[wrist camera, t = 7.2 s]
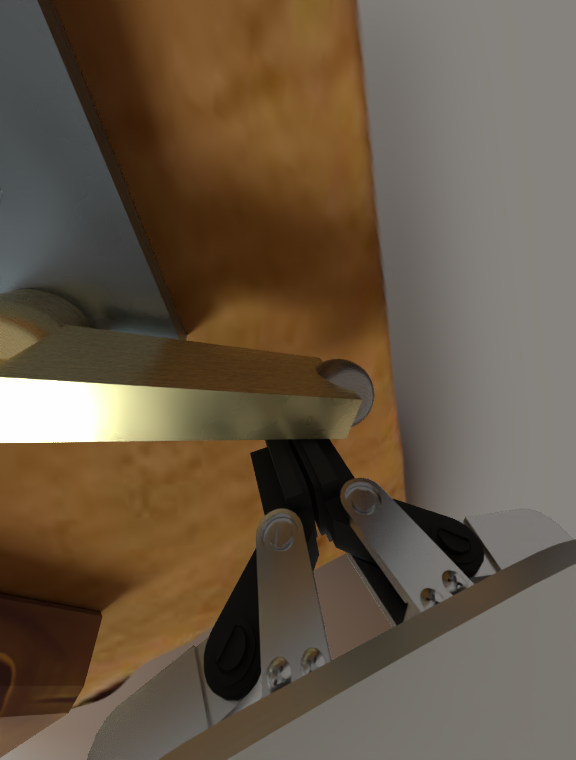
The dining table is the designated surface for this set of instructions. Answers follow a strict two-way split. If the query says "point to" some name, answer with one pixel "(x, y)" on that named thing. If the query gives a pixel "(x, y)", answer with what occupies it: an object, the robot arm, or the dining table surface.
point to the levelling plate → (68, 187)
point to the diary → (41, 664)
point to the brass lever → (159, 384)
